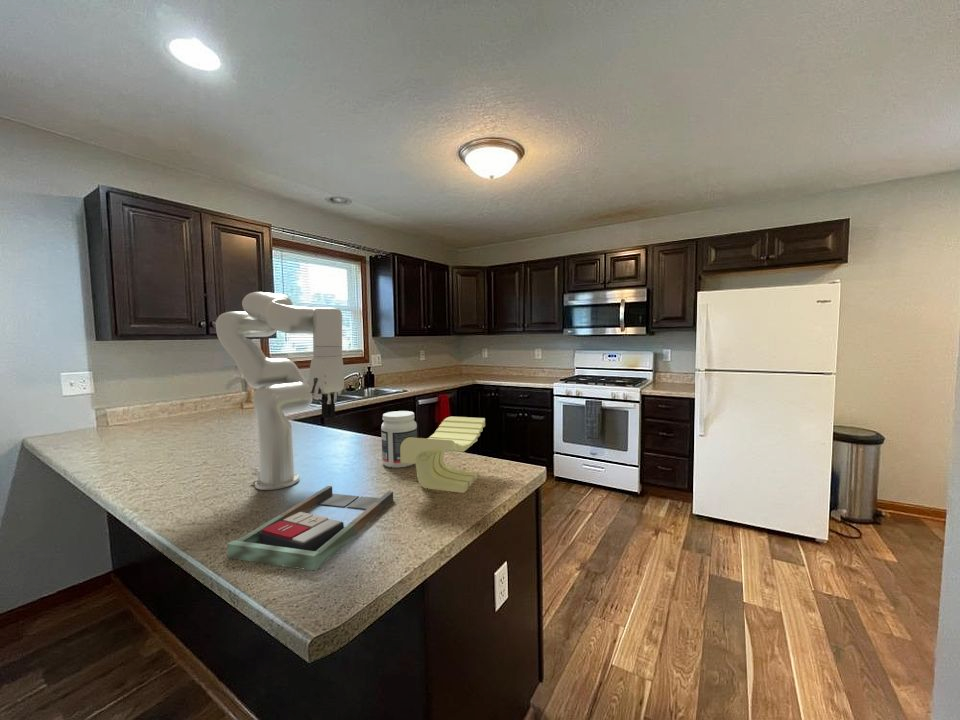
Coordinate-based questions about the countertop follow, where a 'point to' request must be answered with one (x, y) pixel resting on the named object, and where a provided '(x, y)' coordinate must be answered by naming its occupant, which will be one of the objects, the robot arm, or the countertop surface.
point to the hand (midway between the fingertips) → (328, 417)
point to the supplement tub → (396, 436)
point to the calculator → (301, 532)
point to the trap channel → (308, 559)
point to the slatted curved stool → (430, 452)
